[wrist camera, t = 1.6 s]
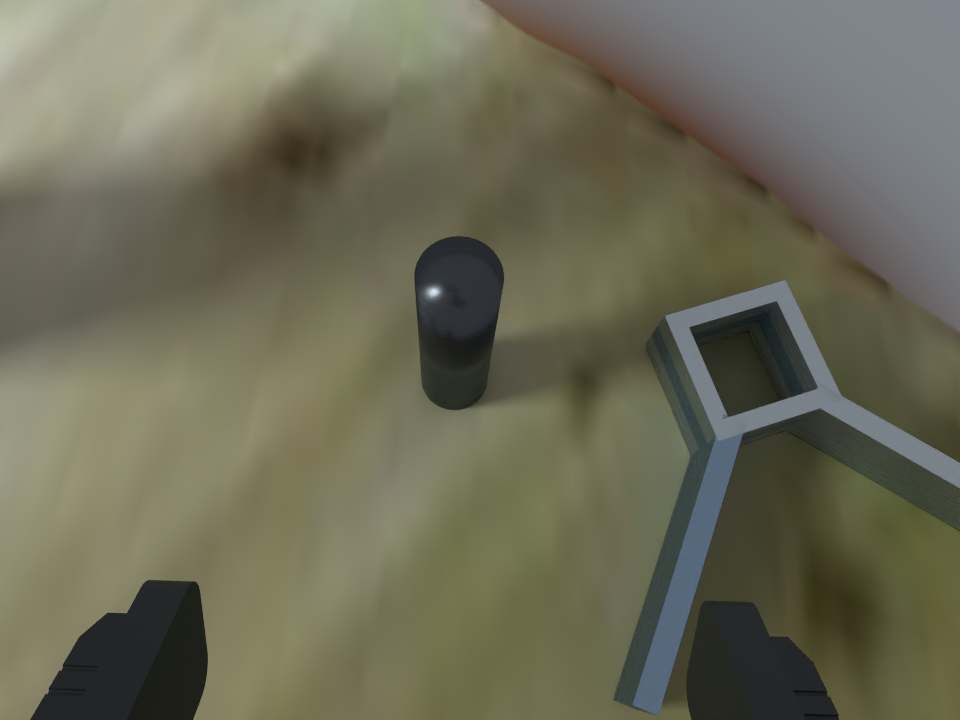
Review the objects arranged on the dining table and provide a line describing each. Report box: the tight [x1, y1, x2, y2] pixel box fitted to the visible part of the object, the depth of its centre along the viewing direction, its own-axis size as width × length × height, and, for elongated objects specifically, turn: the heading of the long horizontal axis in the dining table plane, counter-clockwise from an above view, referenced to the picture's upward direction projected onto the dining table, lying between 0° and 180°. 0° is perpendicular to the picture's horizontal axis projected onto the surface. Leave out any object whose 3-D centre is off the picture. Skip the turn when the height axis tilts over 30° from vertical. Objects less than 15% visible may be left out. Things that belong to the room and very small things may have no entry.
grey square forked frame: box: [613, 280, 960, 716], centre depth 36 cm, size 15×20×4 cm
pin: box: [414, 236, 504, 410], centre depth 33 cm, size 3×3×11 cm
